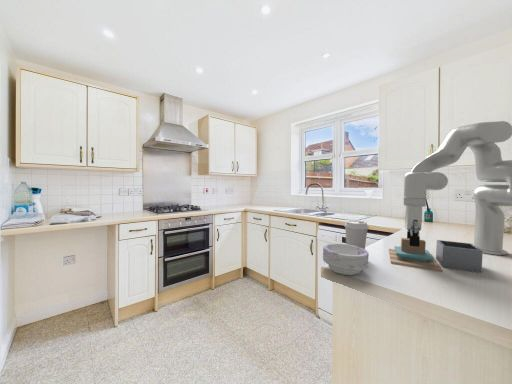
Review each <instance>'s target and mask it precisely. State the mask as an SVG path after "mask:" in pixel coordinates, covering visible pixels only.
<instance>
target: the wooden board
mask: <svg viewBox="0 0 512 384" xmlns="http://www.w3.org/2000/svg"><path fill="white" fill-rule="evenodd" d="M388 253H389V260H390V264H394V265H399V266H400V265H401V266H408V267H413V268H418V269H424V270H431V271H437V272H438V271H439V272H443V267H442V266H441V265H440V263H439V262H438V261H437V259H436V257H434V256H433V254H432V253H430V254H431V255H432V256H433V258H434V261H432V260H428V262H420V261H413V260H406V259H401V258H400V256H397V255H396V251H395V248H388Z"/></svg>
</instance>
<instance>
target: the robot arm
mask: <svg viewBox="0 0 512 384" xmlns="http://www.w3.org/2000/svg"><path fill="white" fill-rule="evenodd" d="M511 137H512V124H511V123H510V122H509V121H508V122H507V121H504V120H501V121H484V122H483V121H482V122H476V123H472V124H466V125H462V126H458V127H455V128H453V129H452V130H450V131H449V132H448V134H447V136H446V137H445V138H444V140H443V141H442V143H441V144H440V145H439V146H438V148H437V150H435V152H433V153H432V154H430V155H428V156H426V157H425V158H423V159H421V160H420V161H418V163H417V164H416V165H415V166H413V168H412V170H411V171H410V172H406V173H405V175H404V181H403V182H404V186H403V206H404V207H405V206H406V207H405V214H404V215H405V217H404V228H405V230H406V231H407V232H406V238H409V239H410V243H409V245H410V246H416V247H419V244H420V240H421V237H420V231H421V230H422V225H423V224H422V223H423V207H427V191H440V190H443V189H444V188H446V187H447V185H448V184H449V179H448V177H447V175H446V174H444V173H443V172H439V171H436V170H438V169H441V168H444V167H447V166H450V165H453V164H455V163H456V162H458V161H459V159H460V158H461V156H462V155H463V154H464V152H465V151H466V150H467V148H469V149H470V150H471V151H472V152H473V154H474V162H475V163H474V164H475V172H476V173H475V174H476V178H477V180H479V181H480V182H484V183H507V184H482V185H479V186H477V187H475V189H474V190H473V200H474V205H475V219H474V236H473V245H475V246H476V247H478V248H479V249H481V250H482V251H483V254H488V255H497V256H506V255H508V251H507V250H505V249H503V248H504V247H503V246H504V231H505V230H504V228H505V213H504V212H503V209H502V208H501V207H500V206H502V207H512V159H511V160H503V158H502V152H501V148H500V147H499V145H498V144H497V143H503V142H506V141H508V140H509V139H510V138H511Z"/></svg>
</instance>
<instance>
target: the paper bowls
mask: <svg viewBox="0 0 512 384" xmlns="http://www.w3.org/2000/svg"><path fill="white" fill-rule="evenodd" d="M322 252H323V253H322V260H323V262H324V263H326V264H327V266H328V268H329V269H330V270H331V271H332V272H335V273H337V274H340V275H344V276H354V275H355V276H356V275H358V274H360V273H361V271H363V270H365V269H367V268H368V265H369V251H368V250H366V248H365V249H363V248H360V247H357V246H353V245H348V244H346V243H335V242H334V243H328V244H324V245H323V249H322Z"/></svg>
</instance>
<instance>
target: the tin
mask: <svg viewBox="0 0 512 384" xmlns="http://www.w3.org/2000/svg"><path fill="white" fill-rule="evenodd" d="M483 254H484V253H483V251H482V250H481V249H479V248H478V247H476V246H475V245H474V243H468V242H461V241H459V242H458V241H451V240H441V239H436V249H435V260H436V261H437V262H438V264H439V265H440V267H441V268H447V269H453V270H458V271H459V270H460V271H467V272H473V273H478V274H479V273H480V274H482V269H483Z"/></svg>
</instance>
